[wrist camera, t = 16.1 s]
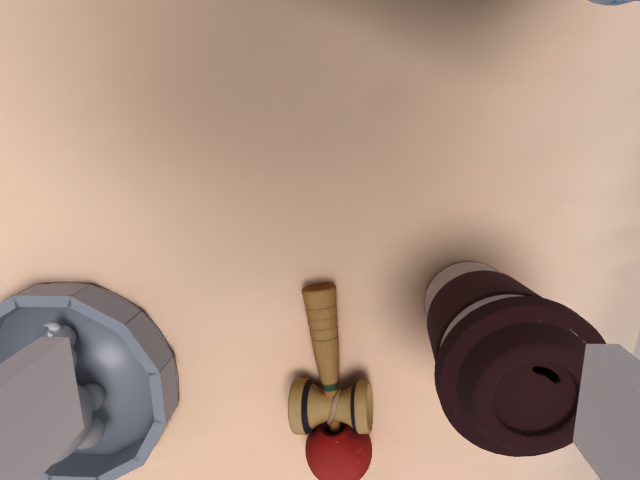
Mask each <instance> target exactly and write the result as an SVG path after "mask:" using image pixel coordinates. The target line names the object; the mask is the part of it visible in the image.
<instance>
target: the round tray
mask: <svg viewBox="0 0 640 480" xmlns="http://www.w3.org/2000/svg"><path fill="white" fill-rule="evenodd" d="M50 321H56V322H58V323H59V324H65V325H67V326H69V327H71V328H72V329H73V330H74V332H75V334H76V341H75V344H74V346H73V349H74V350H75V353H76V356H77V363H76V367H75V369H74V370H75V376H76V382H77V384H78V385H80V386H81V387H82V386H84V385H86V384H90V383H96V384H98V385H100V386H101V387H102V388H103V389H104V391H105V395H106V397H105V401H104V403H103V405H102V406H101V407H100V408H99V409H98V410H96V411H94V412H92V417H96V418H98V419H100V420H101V421H102V422H103V424H104V426H105V432H104V435H103V437H102V439H101V440H100V441H99V442H98V443H97V444H96V445H94V446H92V447H90V448H86V449H76V450H75V451H74V452H73V453H71V454H70V455H69V456H68V457H66V458H65V459H63V460H61V461H60V462H58V463H55V464H53V465H51V466H50V467H49V468H48V469H47V470H46V471H45V472H44V474H43V475H42V476H41V477H40V478H39V479H38V480H115V479H117V478H119V477H121V476H123V475H125V474H127V473H129V472H131V471H133V470H135V469H137V468H139V467H141V466H143V465H144V463H145V462H146V460H147V459H148V457H149V455H150V454H151V452H152V450H153V449H154V447H155V446H156V444H157V442H158V440H159V439H160V437H161V435H162V433H163V431H164V429H165V428H166V426H167V424H168V422H169V421H170V419H171V416H172V415H173V413H174V411H175V409H176V407H177V405H178V389H179V383H178V372H177V366H176V362H175V359H174V356H173V353H172V351H171V349H170V346H169V344H168V342H167V340H166V339H165V337H164V336H163V334H162V332H161V331H160V330H159V328H158V327H157V326H156V325H155V323H154V322H153V321H152V320H151V319H150V318H149V317H148V316H147V315H146V314H145V313H144V312H143V311H142V310H141V309H139V308H138V307H137V306H136V305H134V304H133V303H132V302H130V301H128V300H127V299H125V298H123V297H122V296H120V295H118V294H116V293H114V292H112V291H109V290H107V289H104V288H101V287H98V286H95V285H92V284H91V285H90V284H85V283H78V282H56V283H50V284H36V285H33V286H31V287H29V288H27V289H25V290H23V291H21V292H19V293H17V294H15V295H13V296H11V297H9V298H8V299H6V300H5V301H3V302H2V303H0V364H1V363H2V362H4V361H5V360H7V359H8V358H10V357H11V355H12V354H16V353H17V352H19V351H20V350H22V349H23V348H25V347H26V346H28V345H29V344H31V343H32V342H34V341H35V340H37V339H39V338H40V337H41V335H42V334H43V332H44V331H45V330H46V329H47V328H48V327H47V326H44V325H45V324H46V323H48V322H50Z"/></svg>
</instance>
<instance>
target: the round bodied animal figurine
mask: <svg viewBox="0 0 640 480" xmlns="http://www.w3.org/2000/svg"><path fill="white" fill-rule="evenodd" d="M44 326H47V327H48V328H47V329H46V330H45V331H44V332H43V334H42V335H41V337H69V340H70V346H71V352H72V358H73V364H74V369H75V367H76V363H77V356H76V353H75V350H74V349H73V346H74V344H75V341H76V334H75V332H74V330H73V329H72V328H71V327H69V326H67V325H65V324H59V323H58V322H56V321H50V322H48V323H46V324H45V325H44ZM13 355H14V354H12V355H11V356H13ZM77 388H78V394H79V400H80V406H81V412H82V418H83V424H84V429H83V430H82V431H81V432H80V433H79V435H78V436H77V437H76V438H75V439H74V440H73V441H72V442H71V443H70V445H69V446H68V447H67V448H66V449H65V450H64V451H63V452H62V454H61V455H60V456H59V457H58V458H57V459H56V460H55V461H54V462H53V464H55V463H58V462H60V461H61V460H63V459H65V458H66V457H68V456H69V455H70V454H71V453H73V452H74V451H75V450H76V449H86V448H90V447H92V446H94V445H96V444H97V443H98V442H99V441H100V440H101V439H102V437H103V435H104V432H105V426H104V424H103V422H102V421H101V420H100V419H98V418H96V417H92V412H94V411H96V410H98V409H99V408H100V407H101V406H102V405H103V403H104V401H105V397H106V395H105V391H104V389H103V388H102V387H101V386H100V385H98V384H96V383H90V384H86V385H84V386H82V387H81V386H80V385H78V384H77ZM53 464H52V465H53Z"/></svg>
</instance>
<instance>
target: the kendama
mask: <svg viewBox="0 0 640 480" xmlns="http://www.w3.org/2000/svg"><path fill="white" fill-rule="evenodd" d="M302 294H303V298H304V303H305V306H306V313H307V317H308V323H309V327H310V334H311V338H312V345H313V350H314V355H315V360H316V364H317V368H318V372H319V375H320V379H321V383H322V386H323V389H321V388H319V387H318V386H316V385H315V384H314V383H313V382H312V381H311V380H310V379H309V378H297V379H295V380H294V381H293V383H292V385H291V389H290V393H289V399H288V419H289V425H290V428H291V430H292V432H293V433H294V434H301V435H307V434H308V433H309V435H308V437H307V441H306V449H305V450H306V459H307V462H308V465H309V467H310V469H311V471H312V473H313V474H314V475H315V476H316V477H317V478H318V479H319V480H360V479H361V478H362V477H363V476H364V474H365V473H366V471H367V470H368V468H369V465H370V462H371V458H372V444H371V439H370V436H369V433H370V432H371V429H372V423H373V398H372V389H371V384H370V382H369V381H368V380H358V381H357V382H356V383H355V384H354V385H352V386H351V387H349V388H348V389H345V390H343V391H342V390H341V389H339V387H338V384H339V342H338V326H337V306H336V286H335V285H334V284H330V283H323V284H314V285H310V286H307V287H305V288H303V289H302Z"/></svg>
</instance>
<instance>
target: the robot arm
mask: <svg viewBox="0 0 640 480" xmlns="http://www.w3.org/2000/svg"><path fill="white" fill-rule="evenodd" d="M588 1H590V2H593V3H597V4H602V5H620V4H624V3H628V2H632V1H640V0H588ZM83 429H84V424H83V418H82V412H81V406H80V400H79V394H78V388H77V382H76V376H75V370H74V364H73V358H72V352H71V346H70V340H69V337H40V338H39V339H37V340H35V341H34V342H32V343H31V344H29V345H28V346H26V347H25V348H23V349H22V350H20V351H19V352H17V353H16V354H14V355H13V356H11V357H10V358H8V359H7V360H5V361H4V362H2V363H1V364H0V480H38V479H39V478H40V477H41V476H42V475H43V474H44V472H45V471H46V470H47V469H48V468H49V467H50V466H51V465H52V464H53V462H54V461H55V460H56V459H57V458H58V457H59V456H60V455H61V454H62V452H63V451H64V450H65V449H66V448H67V447H68V446H69V445H70V443H71V442H72V441H73V440H74V439H75V438H76V437H77V436H78V435H79V433H80V432H81V431H82V430H83ZM573 442H574V444H575V445H576V447H577V448H578V449H579V451H580V452H581V453H582V455H583V456H584V458H585V459H586V460H587V462H588V463H589V464H590V466H591V467H592V469H593V470H594V471H595V473H596V474H597V475H598V477H599V478H600V479H601V480H640V360H638V359H637V358H636V357H635V356H633V355H632V354H631V353H630V352H628V351H627V350H626V349H624V348H623V347H622V346H621V345H619V344H586V349H585V356H584V363H583V370H582V378H581V385H580V392H579V399H578V407H577V414H576V421H575V428H574V436H573Z"/></svg>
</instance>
